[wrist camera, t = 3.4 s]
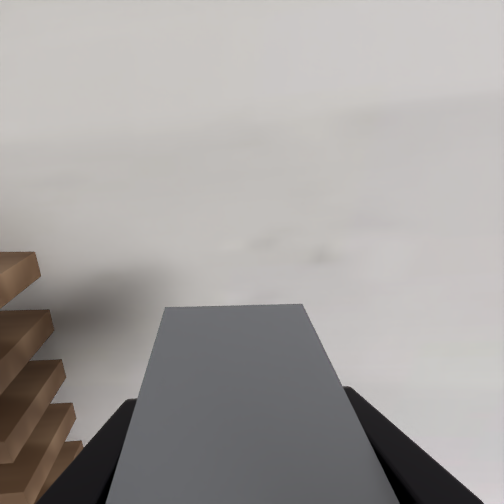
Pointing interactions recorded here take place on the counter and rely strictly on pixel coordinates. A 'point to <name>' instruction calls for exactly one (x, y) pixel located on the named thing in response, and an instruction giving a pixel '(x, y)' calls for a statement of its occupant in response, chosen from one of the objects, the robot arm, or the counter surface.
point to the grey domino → (244, 416)
